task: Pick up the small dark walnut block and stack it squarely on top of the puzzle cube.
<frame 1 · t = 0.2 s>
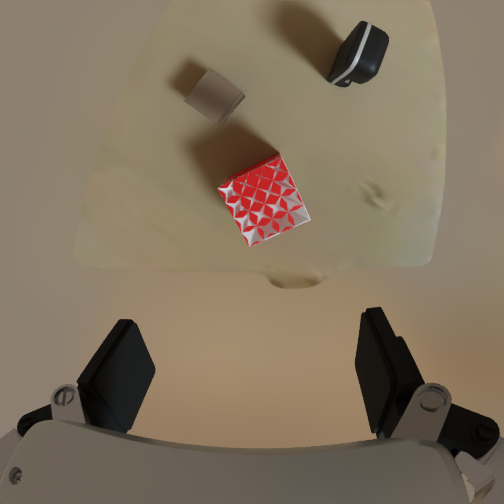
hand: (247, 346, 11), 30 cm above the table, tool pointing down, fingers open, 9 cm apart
walnut block: (219, 100, 34), on the table
battery charger: (345, 68, 31), on the table
puzzle cube: (266, 190, 39), on the table
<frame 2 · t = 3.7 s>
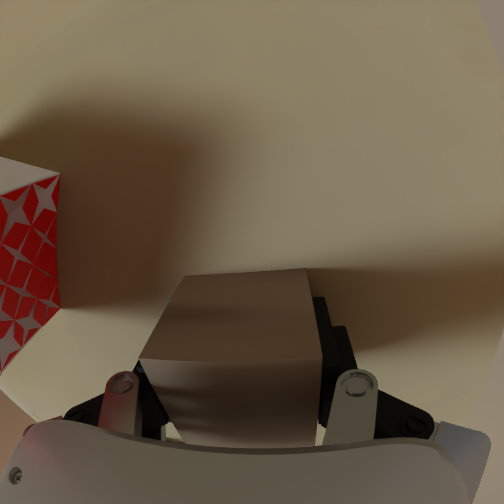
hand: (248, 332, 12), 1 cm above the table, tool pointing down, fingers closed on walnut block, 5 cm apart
walnut block: (250, 322, 12), on the table, touching gripper
puzzle cube: (14, 226, 12), on the table
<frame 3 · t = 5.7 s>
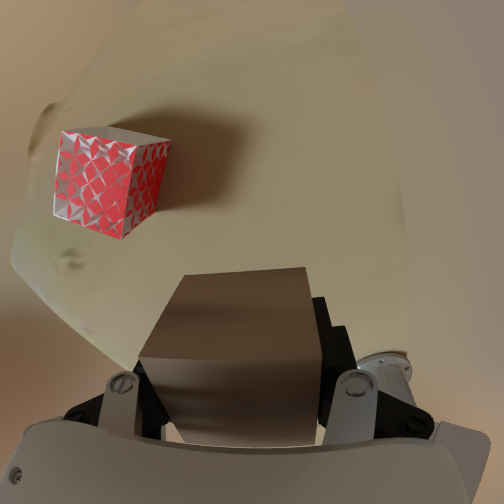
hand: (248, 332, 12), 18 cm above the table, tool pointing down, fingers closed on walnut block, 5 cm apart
walnut block: (250, 321, 12), point 17 cm above the table, touching gripper
puzzle cube: (130, 167, 27), on the table
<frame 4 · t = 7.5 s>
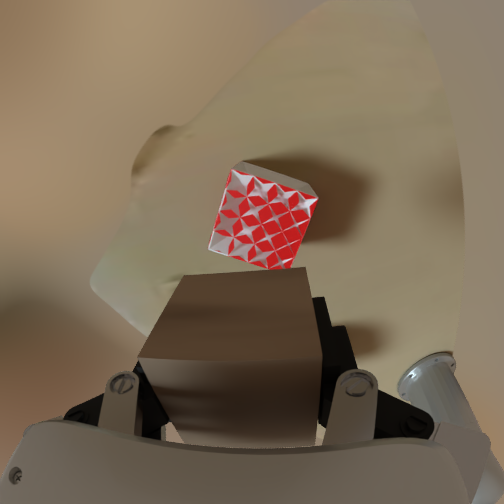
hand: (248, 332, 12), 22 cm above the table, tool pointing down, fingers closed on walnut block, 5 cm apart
walnut block: (250, 321, 12), point 22 cm above the table, touching gripper
puzzle cube: (264, 203, 33), on the table
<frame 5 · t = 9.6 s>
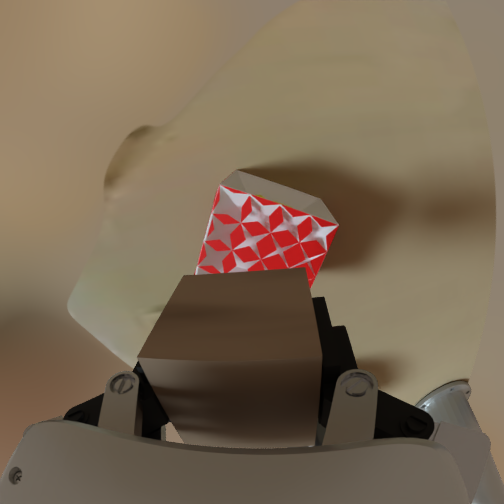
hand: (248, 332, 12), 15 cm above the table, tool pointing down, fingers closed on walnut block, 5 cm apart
walnut block: (250, 321, 12), point 15 cm above the table, touching gripper
puzzle cube: (264, 222, 26), on the table
when the fingers open (9 cm above the table, at t = 11.4 s): walnut block stays where it is, resting on puzzle cube.
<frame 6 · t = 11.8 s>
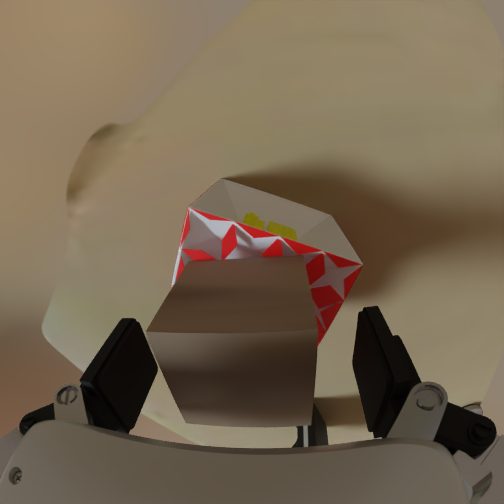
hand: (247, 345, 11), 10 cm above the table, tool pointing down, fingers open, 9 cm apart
walnut block: (250, 306, 13), point 8 cm above the table, touching puzzle cube
battery charger: (303, 414, 28), on the table
puzzle cube: (259, 245, 21), on the table, touching walnut block
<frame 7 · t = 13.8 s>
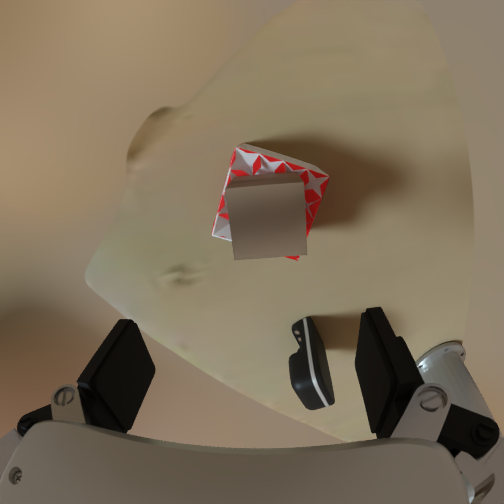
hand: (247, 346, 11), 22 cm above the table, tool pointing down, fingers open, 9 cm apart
walnut block: (267, 203, 23), point 8 cm above the table, touching puzzle cube
battery charger: (305, 335, 38), on the table
puzzle cube: (268, 187, 31), on the table, touching walnut block
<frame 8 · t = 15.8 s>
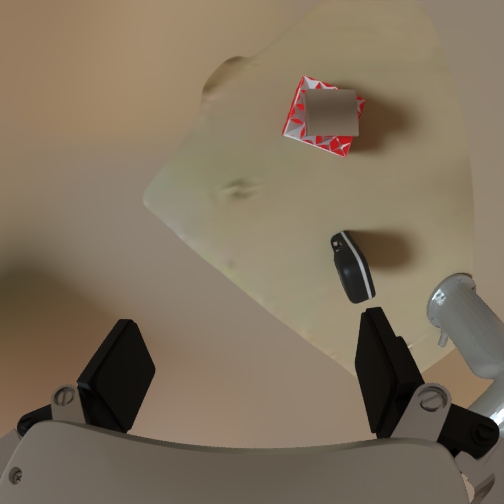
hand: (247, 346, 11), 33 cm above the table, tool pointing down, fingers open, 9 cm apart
walnut block: (325, 115, 30), point 8 cm above the table, touching puzzle cube
battery charger: (341, 250, 45), on the table
puzzle cube: (315, 119, 37), on the table, touching walnut block
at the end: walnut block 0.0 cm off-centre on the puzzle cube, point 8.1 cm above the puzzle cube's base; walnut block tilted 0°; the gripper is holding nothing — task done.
